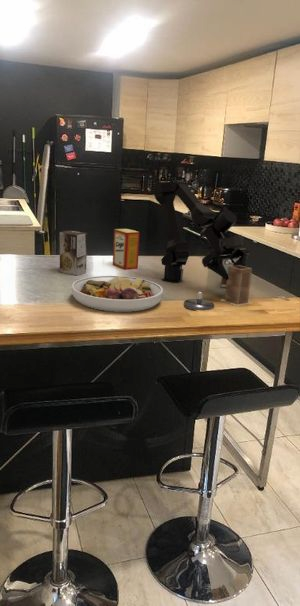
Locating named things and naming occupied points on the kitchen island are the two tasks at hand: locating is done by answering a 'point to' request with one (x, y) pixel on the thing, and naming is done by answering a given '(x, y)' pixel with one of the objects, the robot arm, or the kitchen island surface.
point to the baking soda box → (126, 249)
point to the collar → (238, 284)
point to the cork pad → (236, 304)
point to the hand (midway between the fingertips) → (237, 278)
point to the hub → (198, 303)
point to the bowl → (117, 293)
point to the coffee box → (73, 252)
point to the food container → (226, 265)
